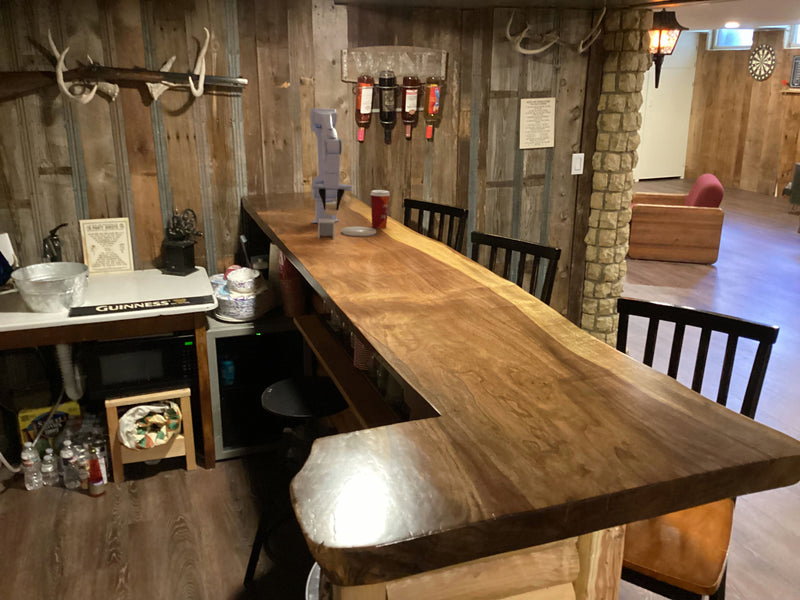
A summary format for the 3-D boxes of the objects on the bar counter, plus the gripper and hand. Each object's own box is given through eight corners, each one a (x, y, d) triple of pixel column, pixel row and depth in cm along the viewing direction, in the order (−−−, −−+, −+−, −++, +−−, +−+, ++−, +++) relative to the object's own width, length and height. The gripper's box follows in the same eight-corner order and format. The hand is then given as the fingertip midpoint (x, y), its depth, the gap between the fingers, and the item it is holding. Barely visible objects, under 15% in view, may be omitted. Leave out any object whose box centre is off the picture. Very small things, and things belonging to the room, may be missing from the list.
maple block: (326, 212, 260) (326, 202, 259) (336, 213, 260) (336, 202, 259) (325, 214, 256) (325, 204, 255) (336, 215, 256) (336, 204, 255)
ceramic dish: (348, 227, 269) (348, 225, 268) (380, 231, 265) (380, 228, 265) (336, 234, 257) (336, 231, 256) (369, 237, 253) (369, 235, 253)
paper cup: (388, 229, 269) (389, 193, 265) (368, 228, 269) (369, 192, 265) (389, 225, 277) (390, 190, 273) (370, 224, 277) (371, 189, 273)
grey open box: (319, 235, 254) (319, 218, 252) (334, 235, 254) (334, 218, 253) (318, 238, 249) (318, 221, 247) (333, 239, 249) (334, 221, 247)
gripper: (310, 173, 249) (310, 210, 253) (351, 174, 250) (350, 212, 254) (312, 170, 256) (312, 207, 260) (351, 172, 257) (351, 208, 261)
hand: (331, 209), depth 258 cm, fingers closed on maple block, 4 cm apart
